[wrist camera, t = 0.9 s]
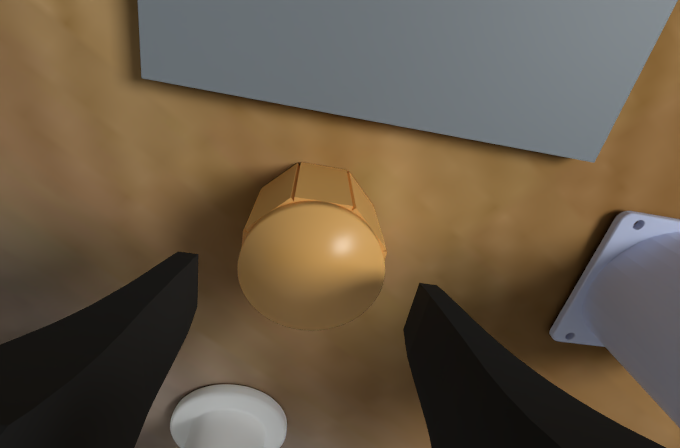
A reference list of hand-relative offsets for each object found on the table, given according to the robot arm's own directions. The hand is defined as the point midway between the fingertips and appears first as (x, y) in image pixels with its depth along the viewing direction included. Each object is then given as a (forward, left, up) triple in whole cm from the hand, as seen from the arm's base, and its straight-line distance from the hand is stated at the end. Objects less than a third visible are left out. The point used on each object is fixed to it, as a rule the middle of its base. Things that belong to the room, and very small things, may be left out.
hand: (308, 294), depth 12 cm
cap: (0, 0, -6) cm, 6 cm away
